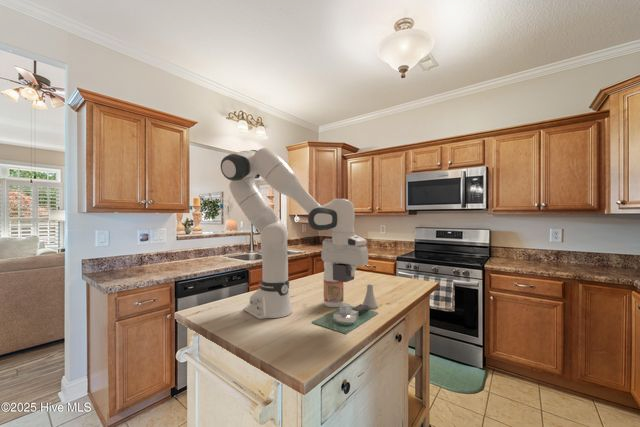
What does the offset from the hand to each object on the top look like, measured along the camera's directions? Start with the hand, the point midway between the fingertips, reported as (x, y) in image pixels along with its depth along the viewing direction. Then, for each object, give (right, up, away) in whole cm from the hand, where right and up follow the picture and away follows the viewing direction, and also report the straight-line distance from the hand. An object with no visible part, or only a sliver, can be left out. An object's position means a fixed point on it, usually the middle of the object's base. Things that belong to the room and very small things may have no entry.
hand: (343, 274), depth 107 cm
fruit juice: (-3, -19, +22) cm, 30 cm away
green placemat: (+2, -19, +6) cm, 20 cm away
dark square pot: (0, -2, 0) cm, 2 cm away
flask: (+14, -19, +19) cm, 31 cm away
